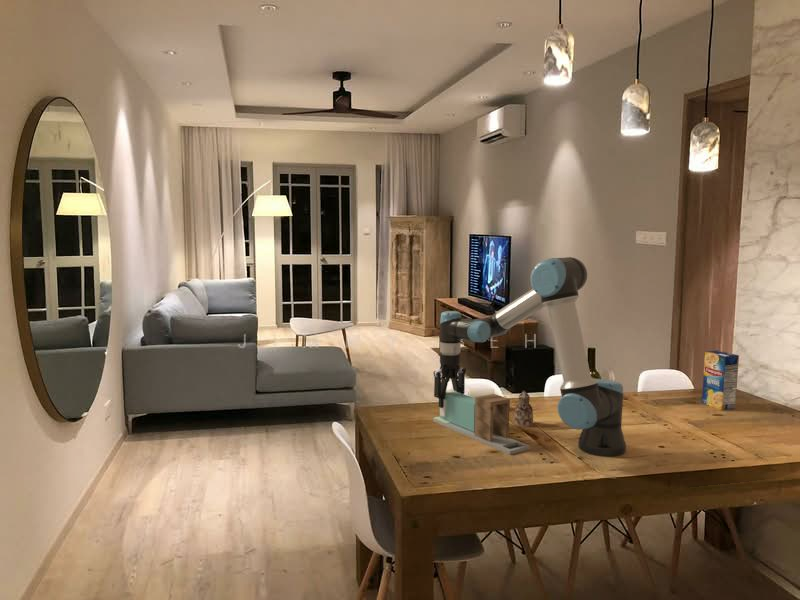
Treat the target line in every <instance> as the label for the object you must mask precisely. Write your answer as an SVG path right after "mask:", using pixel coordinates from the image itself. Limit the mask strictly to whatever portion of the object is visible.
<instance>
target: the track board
mask: <svg viewBox="0 0 800 600" xmlns="http://www.w3.org/2000/svg"><path fill="white" fill-rule="evenodd" d="M432 422H434V423H436V424H438V425H441V426H443V427H444V428H448V429H450V430H452V431H455V432H456V433H459V434H461V435H464V436H466V437H468V438H471V440H472V439H473V440H475V441H477V442H480V443H482V444H484V445H487V446H489V447H491V448H493V449H495V450H498V451H501V452H503V453H505V454H508V455H509V456H510V455H514V454H518V453H523V452H526V451H530V450H531V445H529V444H526V443H524V442H521V441H518V440H516V439H513V438H512V437H509V438H504V437H501V436H499V435H496V434H494V433H493V442H488V441H486V440H484V439H481V438H479V437H477V436H475V432H473V431H470V430H468V429H466V428H463V427H461V426H458V425H456V424H454V423H451V422H449V421H446V420H444V419H442V418H440V415H439V416H435V417H433V418H432Z"/></svg>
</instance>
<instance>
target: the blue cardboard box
mask: <svg viewBox="0 0 800 600" xmlns="http://www.w3.org/2000/svg"><path fill="white" fill-rule="evenodd" d="M739 359H740V355H738V354H734V353H730V352H726V351H722V350H719V349H718V350H717V349H716V350H705V351H704V360H703V361H704V362H703V378H702V379H703V380H702V396H701V404H702V405H705V404H706V406H708V405H709V407H711V408H714V409H717V410H720V411H728V410H735V409H736V405H737V402H736V401H737V389H738V375H739V363H740V362H739Z"/></svg>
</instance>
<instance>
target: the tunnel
mask: <svg viewBox="0 0 800 600" xmlns="http://www.w3.org/2000/svg"><path fill="white" fill-rule="evenodd" d="M510 401H511V399H510V398H508V397H506V396H502V395H499V394H496V393H494V394H490V395H484V396H479V397H475V436H477V437H479V438H481V439H484V440H486V441H488V442H493V433H494V434H496V435H499V436H501V437H504V438H510V436H509V435H510V433H509V432H510Z"/></svg>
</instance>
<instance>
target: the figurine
mask: <svg viewBox="0 0 800 600" xmlns="http://www.w3.org/2000/svg"><path fill="white" fill-rule="evenodd" d="M530 398H531V397H530V395H529V393H527V392H526V390H522V392H521V393H519V396H518V403H517V404H516V405H515V408H514V416H513V424H514V425H516V426H518V427H523V428H525V427H532V426H533V425H534V411H533V406H532V405H531V404H530Z"/></svg>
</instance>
